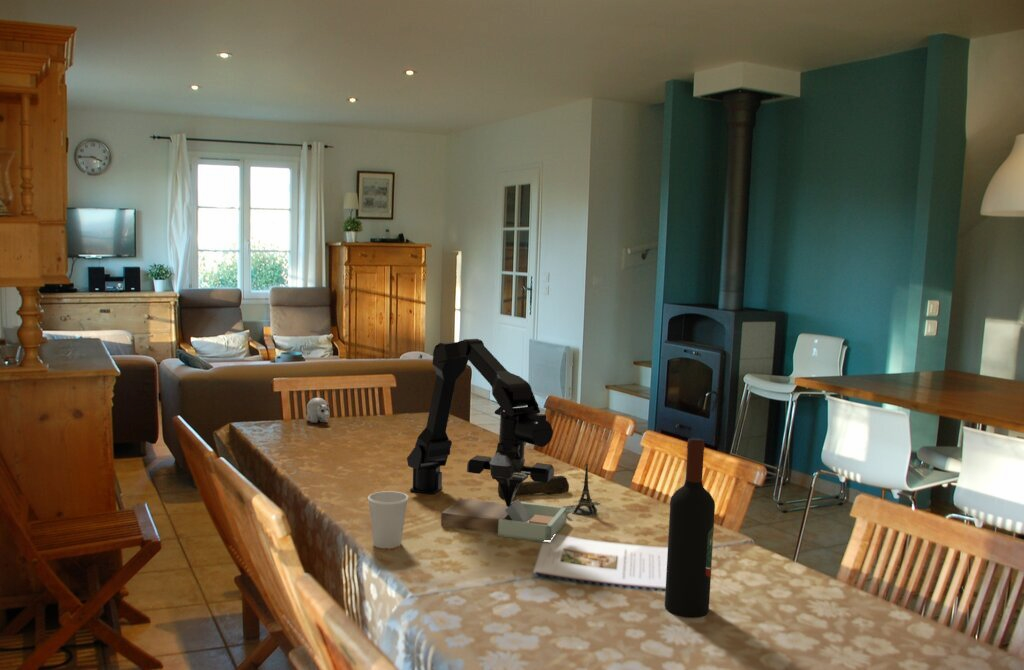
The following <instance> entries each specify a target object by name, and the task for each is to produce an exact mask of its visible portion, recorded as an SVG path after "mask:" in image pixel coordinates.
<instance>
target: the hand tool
mask: <svg viewBox="0 0 1024 670" xmlns="http://www.w3.org/2000/svg"><path fill="white" fill-rule="evenodd" d="M569 490H570V484H569V482H568V479H567V478H566V477H565V476H563V475H554V477H553V478H552V479H551V480H550V481H549V482H538V481H533V480H532V481H531V480H529V481H523V482H521V483H520V485H519V487H518V489H517V491H516V494H515V496H521V495H522V496H525V495H526V496H527V495H538V494H547V495H549V496H552V495H553V496H554V494H555V495H560V494H565V493H568V492H569ZM497 493H498V496H499V498H501V499H504V495H503V492H502V489H501V487H500V484H499V483H498V485H497ZM515 496H514V497H515Z"/></svg>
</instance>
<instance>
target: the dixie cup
mask: <svg viewBox="0 0 1024 670" xmlns="http://www.w3.org/2000/svg"><path fill="white" fill-rule="evenodd" d="M367 500H368V505H369V514H370V515H369V516H370V524H371V526H370V527H371V535H372V545H373V547H375V546H376V548H378V547H379V549H385V548H388V549H395V548H397V546H398V547H400V546H401V544H402V540H403V532H404V525H405V519H406V511H407V506H408V500H409V495H408V494H406V493H404V492H401V491H395V490H389V491H388V490H385V491H378V492H373V493H371V494H369V495H368V496H367ZM394 547H395V548H394Z"/></svg>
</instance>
